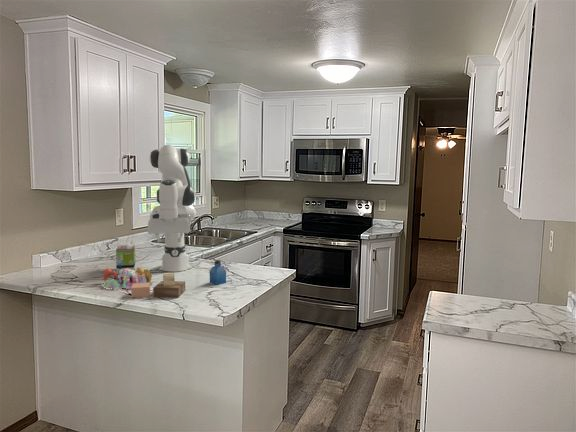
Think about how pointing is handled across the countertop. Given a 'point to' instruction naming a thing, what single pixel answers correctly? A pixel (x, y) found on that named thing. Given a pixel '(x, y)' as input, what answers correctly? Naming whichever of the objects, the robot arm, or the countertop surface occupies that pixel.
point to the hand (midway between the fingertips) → (169, 242)
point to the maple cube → (168, 279)
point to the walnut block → (169, 290)
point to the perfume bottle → (217, 273)
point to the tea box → (125, 257)
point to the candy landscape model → (126, 278)
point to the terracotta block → (140, 290)
